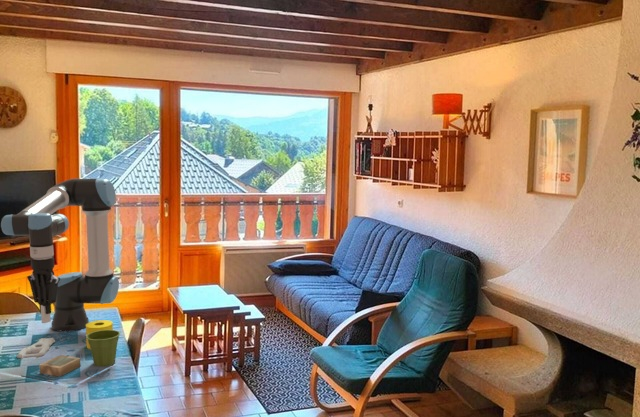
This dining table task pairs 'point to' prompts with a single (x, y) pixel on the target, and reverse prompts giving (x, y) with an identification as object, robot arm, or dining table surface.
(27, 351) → the light grey toy spaceship
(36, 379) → the mat
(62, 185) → the robot arm
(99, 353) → the plant pot
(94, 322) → the yellow paper roll
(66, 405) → the dining table surface
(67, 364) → the rectangular block
